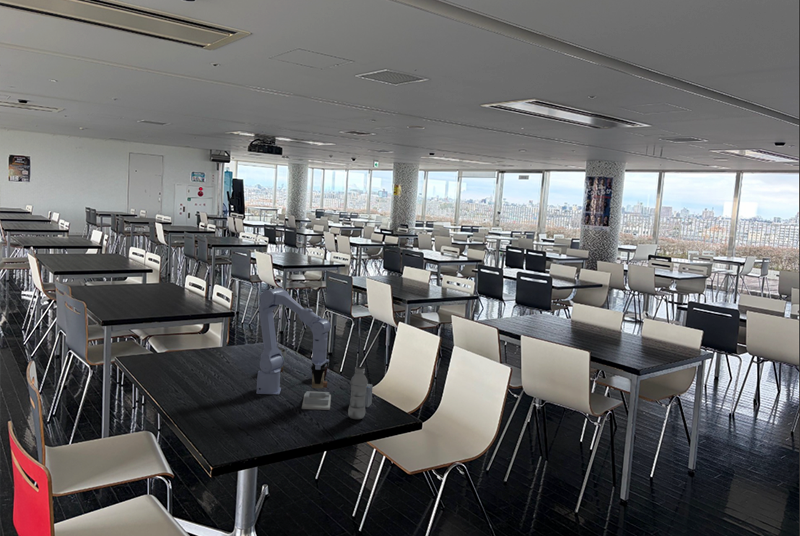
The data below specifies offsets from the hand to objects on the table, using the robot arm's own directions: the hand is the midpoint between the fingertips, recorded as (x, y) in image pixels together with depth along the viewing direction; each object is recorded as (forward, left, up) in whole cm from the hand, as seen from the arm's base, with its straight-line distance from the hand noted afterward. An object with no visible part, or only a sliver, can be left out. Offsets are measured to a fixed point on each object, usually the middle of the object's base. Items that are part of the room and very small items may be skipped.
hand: (317, 381), depth 242 cm
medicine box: (+18, 0, -9) cm, 20 cm away
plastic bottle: (+16, -15, -9) cm, 24 cm away
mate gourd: (-1, +30, -9) cm, 31 cm away
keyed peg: (0, 0, -2) cm, 2 cm away
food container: (-20, +39, -9) cm, 45 cm away
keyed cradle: (0, 0, -9) cm, 9 cm away
